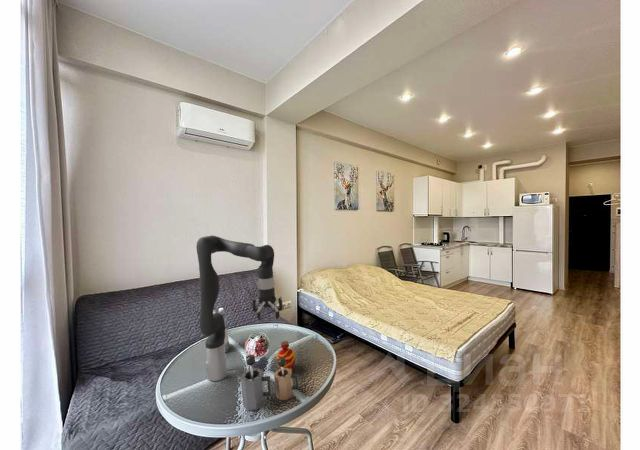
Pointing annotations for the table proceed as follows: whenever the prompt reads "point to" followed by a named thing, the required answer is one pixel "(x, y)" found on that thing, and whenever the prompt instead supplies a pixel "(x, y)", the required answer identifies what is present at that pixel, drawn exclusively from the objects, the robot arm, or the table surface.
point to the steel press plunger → (250, 363)
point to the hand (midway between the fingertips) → (268, 318)
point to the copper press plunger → (282, 364)
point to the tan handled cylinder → (285, 384)
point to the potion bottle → (286, 355)
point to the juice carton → (226, 340)
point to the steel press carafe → (254, 389)
